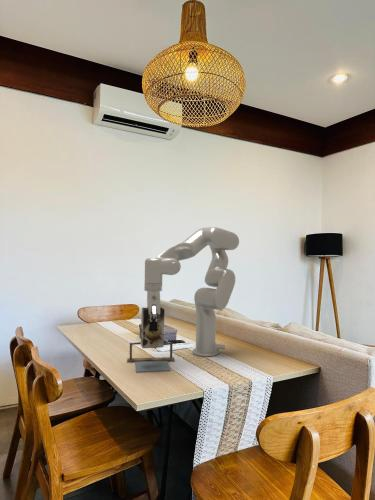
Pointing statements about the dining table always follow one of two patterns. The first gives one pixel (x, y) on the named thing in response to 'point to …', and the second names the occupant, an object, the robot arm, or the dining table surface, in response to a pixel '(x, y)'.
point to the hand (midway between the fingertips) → (152, 328)
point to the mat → (152, 366)
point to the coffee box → (152, 337)
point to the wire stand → (133, 360)
